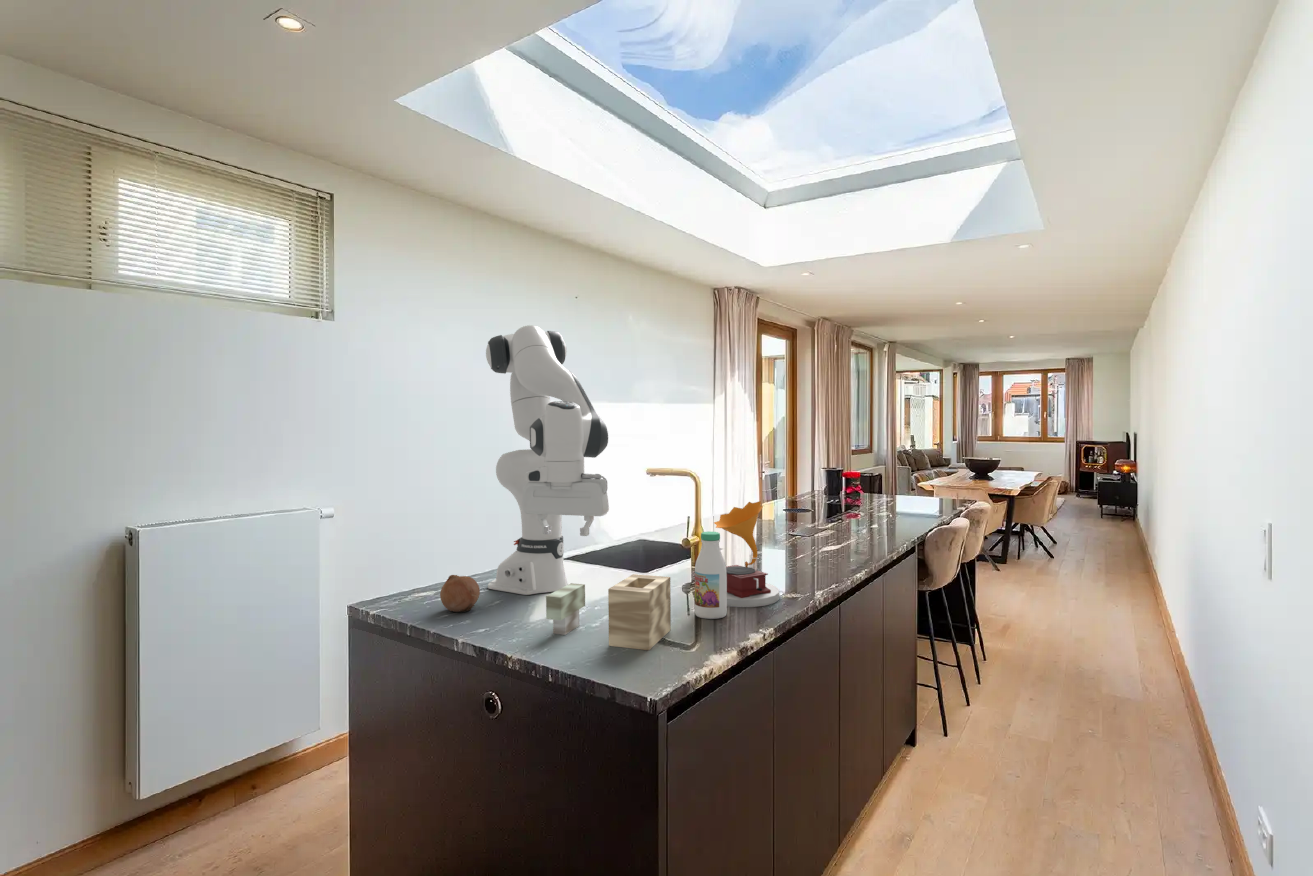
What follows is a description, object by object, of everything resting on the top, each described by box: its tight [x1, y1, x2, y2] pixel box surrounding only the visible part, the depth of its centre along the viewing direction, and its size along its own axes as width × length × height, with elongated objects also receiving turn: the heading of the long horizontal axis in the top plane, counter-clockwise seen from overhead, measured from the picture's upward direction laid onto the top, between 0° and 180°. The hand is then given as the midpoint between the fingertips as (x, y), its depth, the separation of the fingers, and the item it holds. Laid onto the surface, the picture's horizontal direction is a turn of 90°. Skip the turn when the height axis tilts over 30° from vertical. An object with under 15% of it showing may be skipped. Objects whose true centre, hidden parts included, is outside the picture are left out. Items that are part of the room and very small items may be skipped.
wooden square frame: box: [607, 573, 672, 651], centre depth 149 cm, size 14×9×12 cm, turn 160°
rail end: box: [545, 582, 586, 636], centre depth 155 cm, size 12×4×9 cm, turn 160°
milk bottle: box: [694, 531, 728, 620], centre depth 165 cm, size 8×8×20 cm
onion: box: [439, 574, 481, 613], centre depth 171 cm, size 10×9×10 cm
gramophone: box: [713, 501, 780, 608], centre depth 182 cm, size 20×20×25 cm
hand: (565, 534), depth 154 cm, fingers open, 8 cm apart
